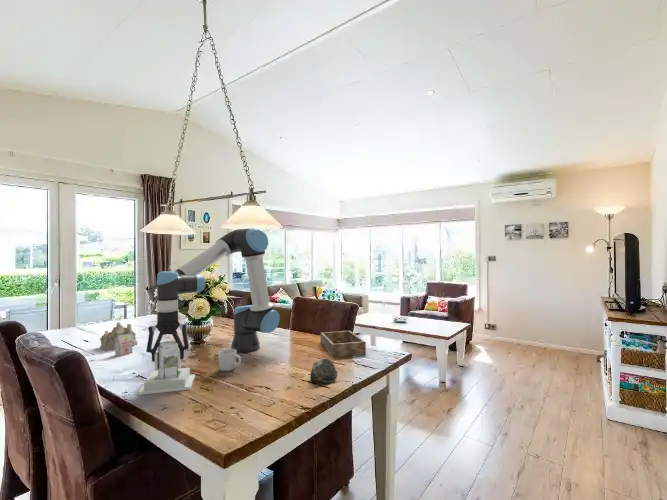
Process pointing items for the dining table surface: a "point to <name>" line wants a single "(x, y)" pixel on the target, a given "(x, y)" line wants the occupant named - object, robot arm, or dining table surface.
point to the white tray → (168, 382)
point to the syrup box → (168, 360)
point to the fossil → (323, 371)
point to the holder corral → (343, 349)
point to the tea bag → (123, 345)
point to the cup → (228, 359)
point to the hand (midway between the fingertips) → (168, 368)
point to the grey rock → (110, 338)
